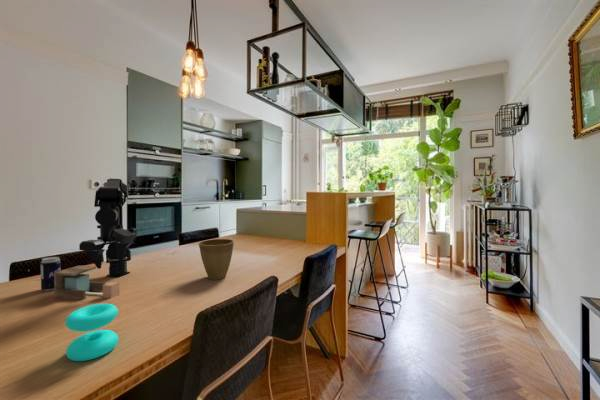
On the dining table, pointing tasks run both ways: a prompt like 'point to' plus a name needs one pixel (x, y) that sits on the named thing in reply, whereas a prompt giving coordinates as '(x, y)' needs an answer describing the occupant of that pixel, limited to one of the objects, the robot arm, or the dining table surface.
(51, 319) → the dining table surface
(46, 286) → the beverage can
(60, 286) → the shelf lane
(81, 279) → the tethered block
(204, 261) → the plant pot
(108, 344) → the donuts
